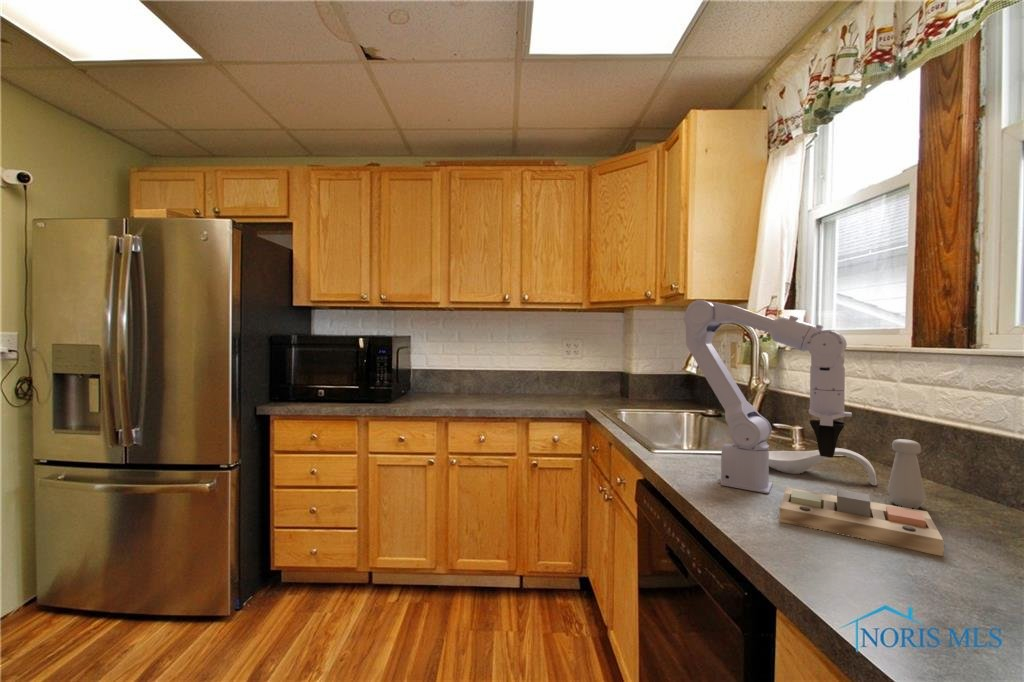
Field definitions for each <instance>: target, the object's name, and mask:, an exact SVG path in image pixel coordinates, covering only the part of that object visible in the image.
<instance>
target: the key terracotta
mask: <svg viewBox="0 0 1024 682" xmlns="http://www.w3.org/2000/svg"><path fill="white" fill-rule="evenodd" d="M886 521H891V522H897V523H902V524H907V525H913V526H918V527H923V528H926V521H925V519H924V517H923V515H922V513H921V512H917V511H912V510H906V509H900V508H894V507H888V506H886Z"/></svg>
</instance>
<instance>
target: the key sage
mask: <svg viewBox="0 0 1024 682" xmlns="http://www.w3.org/2000/svg"><path fill="white" fill-rule="evenodd" d="M791 503H795V504H801V505H806V506H811V507H817V508H821V495H819V494H813V493H807V492H801V491H796V490H793V491H792V494H791Z"/></svg>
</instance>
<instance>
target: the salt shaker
mask: <svg viewBox="0 0 1024 682" xmlns="http://www.w3.org/2000/svg"><path fill="white" fill-rule="evenodd" d="M891 446H892V450H893V451H895V455H894V459H893V464H892V468H891V470H890V471H891V472H890V477H889V481H888V486H887V488H886V489H887V493H888V495H889V497H890V499H891V501H892V504H894V506H897V505H898V507H901V506H902V507H904V508H910V509H912V508H914V509H915V510H919V509H920V507H921V506H922V505H923V503H925V501H926V499H927V496H926V495H927V494H926V491H925V487H924V483H923V478H922V474H921V469H920V465H919V460H918V456H917V455H918V454H921V452H922V446H921V444H920V443H919V442H917V441H915V440H911V439H906V438H905V439H904V438H898V439H894V440H893V441H892V443H891Z"/></svg>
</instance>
